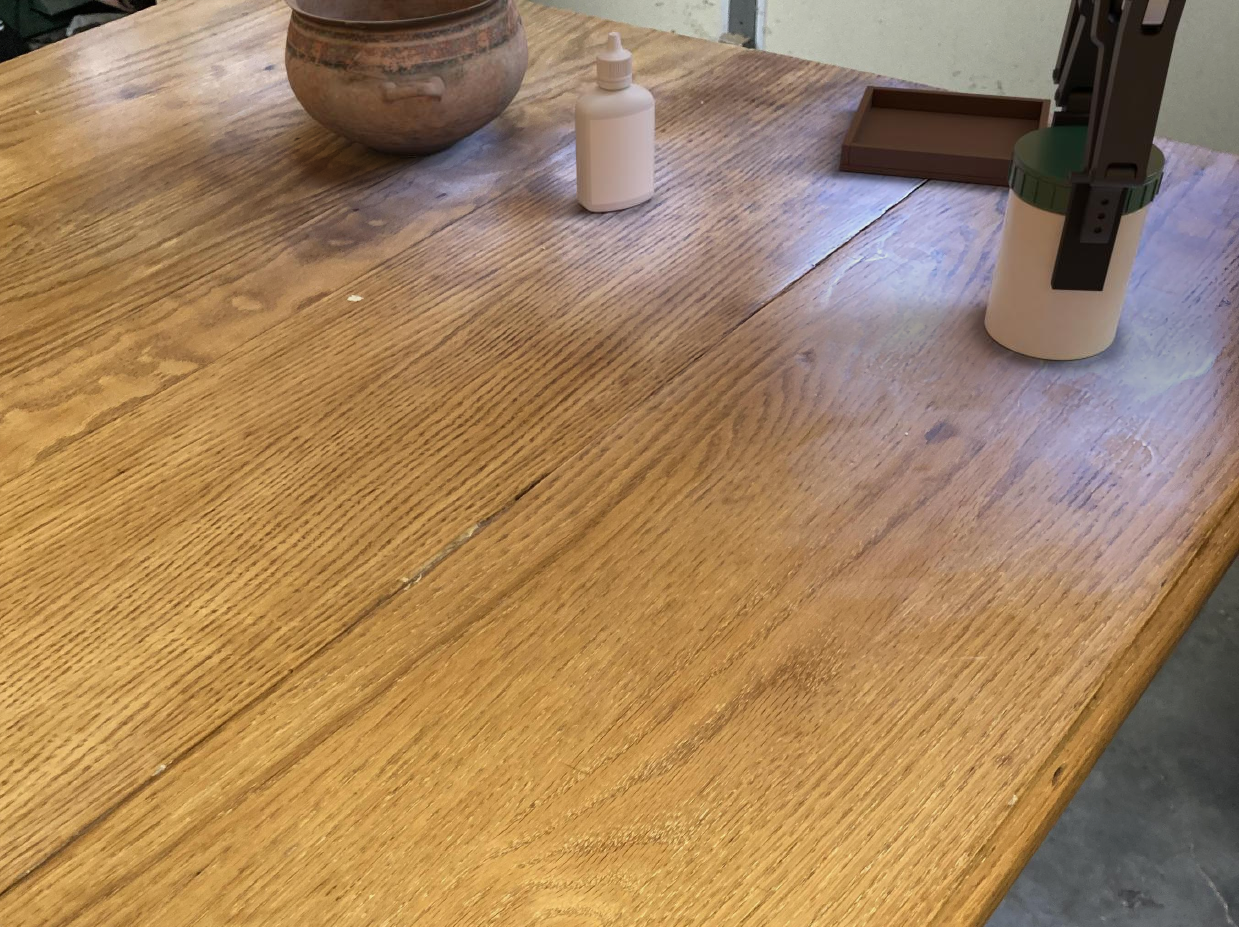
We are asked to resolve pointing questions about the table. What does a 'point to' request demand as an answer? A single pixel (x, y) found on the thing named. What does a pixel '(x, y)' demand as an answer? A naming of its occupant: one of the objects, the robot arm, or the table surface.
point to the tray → (939, 134)
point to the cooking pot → (405, 68)
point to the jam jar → (1025, 297)
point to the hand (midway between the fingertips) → (1065, 251)
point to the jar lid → (1067, 168)
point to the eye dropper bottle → (615, 136)
